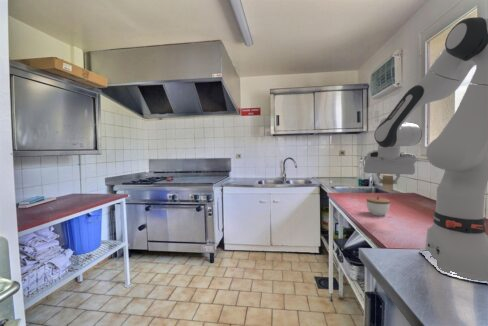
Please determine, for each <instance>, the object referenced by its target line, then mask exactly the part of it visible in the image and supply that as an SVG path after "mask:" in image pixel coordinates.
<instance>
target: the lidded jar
mask: <svg viewBox="0 0 488 326" xmlns="http://www.w3.org/2000/svg"><path fill="white" fill-rule="evenodd" d="M390 204H391V200H389V199H387V198H384V197H383V198H382V197H380V196H376V197H373V196H372V197H371V196H370V197H367V198H366V207H367V210H368V212H369V213H370V214H371V215H373V216H379V217H382V216H385V215H386V214H388V212H389V210H390V207H391V206H390Z"/></svg>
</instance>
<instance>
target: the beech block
mask: <svg viewBox="0 0 488 326" xmlns="http://www.w3.org/2000/svg"><path fill="white" fill-rule="evenodd" d="M382 179H383V181H382V182H383V183H381V184H382V189H381V191H384V192H385V191H388V192H393V191H394V184H393V180H394V174H382Z"/></svg>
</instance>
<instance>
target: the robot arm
mask: <svg viewBox="0 0 488 326" xmlns="http://www.w3.org/2000/svg"><path fill="white" fill-rule="evenodd" d="M444 46H445V48H444V49H443V50H442V51H441V52H440V53H439V55H438V56H437V58H436V59H435V60H434V62H432V64H431V66H430V67H429V69H428V71H427V72H426V73H425V75H424V76H423V77H422V78H421V79H420V80H419V81H418V82H417V83H416V84H415V85H414V86H413V87H411V88H410V89H408V91H406V92H405V94H404V95H403V96H402V98H401V99H400V100H399V101H398V103H397V104H396V105H395V107H394V108H393V109H392V110H391V112H390V113H389V114H388V116H387V117H385V118H383V119H381V120H380V122H379V125H378V126H377V127H376V129H375V131H374V135H373V136H374V140H375V142H376V144H377V150H373V151H370V152H367V154H366V156H367V158H366V159H365V161H364V165H363V172H364V174H376V177H377V178H378V183H379V184H383V178H380V176H381V175H383V174H385V175H395V179H393V185H397V184H398V180H399V178H400V177H401V175H410V176H411V175H414V174H416V167H415V166H416V165H415V163H416V161H417V157H416V156H415V155H414V154H412V153H401V147H413V146H416V145H417V144H419V143H420V141H421V140H422V137H423V130H422V129H421V126H419V125H418V124H416V123H411V122H408V121H407V119H408V118H409V117H410V115H412V113H413V112H414V111H416V109H418V108H420V107H422V106H424V105H427V104H429V103H433V102H436V101H441V100H444V99H446V98H448V97H450V96H451V95H453V94H454V93H455V92H456V91H457V90H458V89H459V87H460V86H461V85H462V84H463V82H464V81H465V79H466V78H467V77H468V75H469V74H470V72H471V71H472V69H473V68H474V67H475V71H474V73H473V75H472V76H471V78H470V81H469V83H468V85H467V88H466V90H465V91H464V93H463V96H462V98H461V100H460V102H459V105H458V107H457V109H456V110H455V112H454V114H453V116H452V117H451V118H450V120H449V121H448V123H447V124H446V125H445V127H444V128H443V129H442V131H441V132H440V133H439V135H438V136H437V137H435V138H434V139H433V140H432V141H431V142H430V143H429V144H428V146H427V147H426V158H427V160H428V162H429V163H430V164H431V165H432V166H434V168H436V169H440V170H443V171H444V172H443V175H442V179H441V180H440V183H439V184H438V186H437V188H436V202H435V211H434V212H433V216H432V218H433V224H432V225H431V226H430V227H428V228H427V230H426V237H425V238H426V239H425V247H422V248H419V250H420V251H422V252H423V251H429V252H430V253H431V255H432V256H430V258H431V257H433V258H434V259H436V260H437V266H438V268H439V269H440V268H441V269H440V270H442V271H444V272H447V273H450V271H452V272H455V273H457V274H453V275H457V276H460V277H463V278H467V279H471V280H478V281H487V282H488V235H487V233H485V232H486V230H487V229H486V220H485V218H484V210H485V209H484V206H485V195H486V189H487V185H488V18H484V17H481V16H477V17H468V18H467V17H466V18H464V19H462V20H461V21H459V22H457V23H456V24H455V25H454V26H452V28H451V30H450V31H449V32H448V34H447V36H446V38H445V43H444ZM450 274H452V273H450Z"/></svg>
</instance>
